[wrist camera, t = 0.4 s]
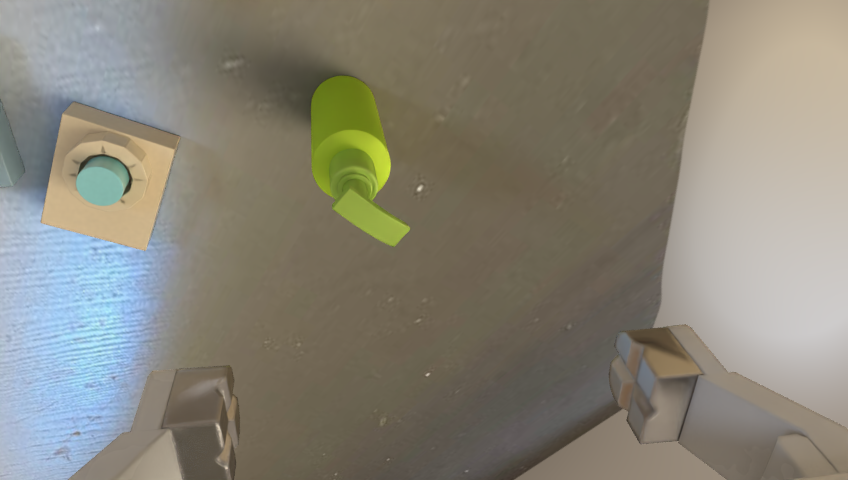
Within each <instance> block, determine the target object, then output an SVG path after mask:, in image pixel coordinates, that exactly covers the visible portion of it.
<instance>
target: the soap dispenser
mask: <svg viewBox="0 0 848 480" xmlns="http://www.w3.org/2000/svg"><path fill="white" fill-rule="evenodd" d="M311 149H312V173H313V176H314V179H315V181H316V183H317V184H318V186H319V187H320V188H321V189H322V190H323V191H324V192H325V193H326V194H328V195H329V196H331V197H333V198H334V199H335V202H334V203H333V204H332V209H333V210H334V211H336V212H337V213H339V214H340V215H341V216H343V217H344V218H346V219H347V220H348V221H350V222H351V223H353V224H354V225H356V226H357V227H359V228H360V229H362V230H363V231H365V232H366V233H368V234H370V235H371V236H373V237H375V238H376V239H378V240H380V241H382V242H384V243H386V244H388V245H390V246H392V247H394V246H395V245H396V244H397V243H398V242H399V241H400V240H401V239H402V238H403V237H404V236H405V234H406V233H407V232H408V231H409V230H410V227H409V226H408V225H407V224H406V223H405V222H403V221H402V220H400V219H398V218H396V217H395V216H393V215H392V214H390V213H389V212H387V211H386V210H384V209H383V208H381V207H380V206H378V205H377V204H376V203H374V202H373V199H374V198H375V196H376V194H377V192H378V191H379V190H380V189H381V188H382V187H383V186H384V184H385V183H386V181H387V179H388V176H389V173H390V166H391V163H390V157H389V153H388V149H387V145H386V141H385V138H384V134H383V130H382V126H381V122H380V119H379V115H378V111H377V107H376V103H375V99H374V96H373V94H372V92H371V90H370V89H369V88H368V87H367V85H366V84H364V83H363V82H362V81H360V80H358V79H356V78H354V77H350V76H335V77H332V78H329V79H327V80H326V81H324V82H323V83H321V84H320V85H319V86H318V88H317V89H316V90H315V92H314V94H313V97H312V101H311Z"/></svg>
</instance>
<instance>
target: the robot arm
mask: <svg viewBox="0 0 848 480" xmlns="http://www.w3.org/2000/svg"><path fill="white" fill-rule="evenodd" d="M614 347H615V349H616V350H617V352H618V353H619V354H618V355H617V356H616V357H615V358H614V359H613V360H612V361H611V363H610V369H609V383H610V389H611V392H612V395H613V397H614V399H615V401H616V403H617V405H619V406H620V407H622V408H623V409H625V410H627V411H628V416H627V422H628V424H629V425H630V427H631V429H632V431H633V433H634V434H635V436H636V438H637V440H638V441H639V443H640V444H648V443H659V442H672V441H679V442H678V443H679V444H680V445H682V446H683V447H684V448H686V449H687V450H688V451H690V452H691V453H692V454H694V455H695V456H696V457H698V458H699V459H700V460H702V461H703V462H704V463H706V464H707V465H709V466H710V467H711V468H712V469H713V470H715V471H716V472H718V473H719V474H720V475H721V476H723V477H724V478H725V479H727V480H848V429H847V428H846V427H844V426H842V425H840V424H838V423H836V422H834V421H832V420H830V419H828V418H826V417H824V416H822V415H820V414H818V413H816V412H814V411H812V410H810V409H808V408H806V407H804V406H802V405H800V404H798V403H796V402H794V401H792V400H790V399H788V398H786V397H784V396H782V395H780V394H778V393H776V392H774V391H772V390H770V389H768V388H766V387H764V386H762V385H760V384H758V383H756V382H754V381H752V380H750V379H748V378H746V377H743V376H742V375H740V374H738V373H736V372H731V373H728V372H727V370H726V369H725V368H724V367H723V365H722V364H721V363H720V362H719V361H718V359H717V358H716V357H715V356H714V355H713V353H712V352H711V351H710V350H709V349H708V347H707V346H706V345H705V344H704V342H703V341H702V340H701V339H700V338H699V337H698V335H697V334H696V333H695V332H694V330H693V329H692V328H691V327H689V326H688V325H686V324H685V325H675V326H666V327H663V328H650V329H640V330H629V331H620V332H619V333H618V335H617V336H616V340H615V344H614ZM233 387H234V377H233V372H232V368H231V367H230V365H228V366H213V367H198V368H182V369H173V370H159V371H152V372H151V373H150V374H149V376H148V377H147V381H146V384H145V387H144V390H143V393H142V396H141V399H140V403H139V406H138V409H137V412H136V415H135V418H134V421H133V424H132V428H131V431H130V432H125V433H122V434H120V435H119V436H118V437H117V438H116V439H115V440H113V441H112V442H111V443H110V444H109V445H108V446H106V447H105V448H104V449H103V450H102V451H101V452H99V453H98V454H97V455H96V456H95V457H94V458H92V459H91V460H90V461H89V462H88V463H87V464H85V465H84V466H83V467H82V468H81V469H80V470H78V471H77V472H76V473H75V474H74V475H73V476H71V477H70V478H69V479H68V480H234V476H235V468H236V459H235V453H234V449H235V448H236V447H237V445H238V444H239V434H240V414H239V405H238V399H237V397H236V396H235V395H234V394H233Z"/></svg>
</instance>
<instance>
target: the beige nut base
mask: <svg viewBox="0 0 848 480" xmlns="http://www.w3.org/2000/svg"><path fill="white" fill-rule="evenodd" d="M179 140H180V136H177V135H174V134H170V133H167V132H164V131H161V130H158V129H155V128H152V127H149V126H146V125H143V124H140V123H137V122H134V121H131V120H128V119H125V118H122V117H119V116H116V115H113V114H110V113H107V112H104V111H101V110H98V109H95V108H92V107H89V106H86V105H82V104H79V103H76V102H73V103H72V104H71V105H70V106H69V107H68V108H67V109H66V110H65V111H64V112H63V113H62V117H61V122H60V127H59V132H58V137H57V142H56V147H55V152H54V157H53V163H52V168H51V173H50V178H49V183H48V188H47V193H46V198H45V203H44V208H43V213H42V218H41V223H43V224H46V225H50V226H54V227H58V228H61V229H65V230H69V231H73V232H76V233H80V234H84V235H88V236H91V237H95V238H99V239H103V240H106V241H110V242H114V243H118V244H121V245H125V246H129V247H133V248H136V249H140V250H144V251H146V249H147V246H148V244H149V241H150V239H151V236H152V233H153V230H154V227H155V223H156V220H157V216H158V213H159V209H160V206H161V202H162V199H163V196H164V192H165V189H166V185H167V182H168V178H169V175H170V171H171V168H172V165H173V161H174V158H175V154H176V151H177V147H178V144H179ZM98 156H107V157H111V158H114V159H116V160H118V161H119V162H120V163H122V164H123V165H124V166H125V168H126V169H127V171H128V174H129V183H128V186H127V188H126V190H125V191H124V193H123V195H122V197H121V198H120V200H119V201H118V202H116V203H114V204H112V205H108V206H99V205H95V204H92V203H90V202H88V201H86V200H85V199H84V198H83V197H82V196H81V195H80V194H79V192H78V190H77V188H76V178H77V176H78V174H79V173H80V171H81V170H82V168H83V167H84V165H85V164H86V163H87V162H88V161H89V160H90V159H92V158H94V157H98Z"/></svg>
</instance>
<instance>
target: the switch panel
mask: <svg viewBox="0 0 848 480" xmlns="http://www.w3.org/2000/svg"><path fill="white" fill-rule="evenodd" d="M24 173H25V169H24V167H23V164H22V161H21V158H20V155H19V152H18V149H17V146H16V143H15V140H14V137H13V134H12V131H11V128H10V125H9V123H8V120H7V117H6V114H5V111H4V108H3V105H2V102H1V99H0V187H12V186H13V185H14V184H15V183H16V182H17V181H18V180H19V178H20V177H21V176H22V175H23V174H24Z"/></svg>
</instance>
